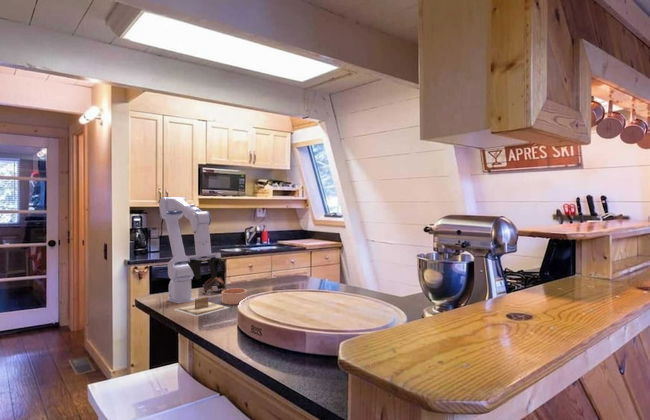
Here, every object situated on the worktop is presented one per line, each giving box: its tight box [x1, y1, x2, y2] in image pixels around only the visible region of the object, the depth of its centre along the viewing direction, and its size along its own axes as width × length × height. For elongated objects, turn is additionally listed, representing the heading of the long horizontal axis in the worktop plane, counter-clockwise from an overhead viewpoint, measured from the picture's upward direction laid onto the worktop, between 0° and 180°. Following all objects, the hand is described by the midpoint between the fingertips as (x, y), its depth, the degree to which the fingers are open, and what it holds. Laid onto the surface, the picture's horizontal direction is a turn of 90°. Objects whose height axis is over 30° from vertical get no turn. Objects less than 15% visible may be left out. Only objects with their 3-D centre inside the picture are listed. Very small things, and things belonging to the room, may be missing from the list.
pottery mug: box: [202, 276, 227, 294], centre depth 191 cm, size 12×10×8 cm
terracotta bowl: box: [221, 287, 248, 305], centre depth 173 cm, size 10×10×4 cm
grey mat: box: [173, 303, 230, 317], centre depth 162 cm, size 15×15×1 cm
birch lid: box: [178, 296, 224, 315], centre depth 162 cm, size 12×12×4 cm
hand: (205, 278), depth 160 cm, fingers open, 7 cm apart
